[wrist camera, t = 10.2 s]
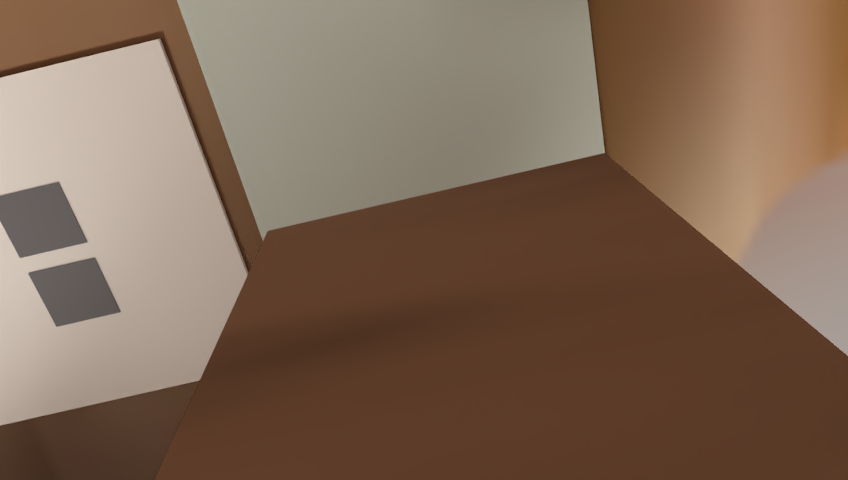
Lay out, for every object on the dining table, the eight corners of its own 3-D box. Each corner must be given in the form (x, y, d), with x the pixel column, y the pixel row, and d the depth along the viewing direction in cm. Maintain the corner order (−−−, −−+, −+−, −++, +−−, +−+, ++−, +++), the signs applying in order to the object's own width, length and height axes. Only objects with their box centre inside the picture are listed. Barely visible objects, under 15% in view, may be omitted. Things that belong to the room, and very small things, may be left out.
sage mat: (619, 306, 24) (622, 311, 24) (313, 374, 24) (312, 380, 24) (572, -101, 18) (576, -102, 18) (179, -4, 19) (175, -3, 19)
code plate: (280, 359, 24) (279, 362, 24) (-19, 426, 24) (-23, 431, 24) (160, 38, 19) (157, 39, 19) (-208, 128, 20) (-215, 130, 19)
